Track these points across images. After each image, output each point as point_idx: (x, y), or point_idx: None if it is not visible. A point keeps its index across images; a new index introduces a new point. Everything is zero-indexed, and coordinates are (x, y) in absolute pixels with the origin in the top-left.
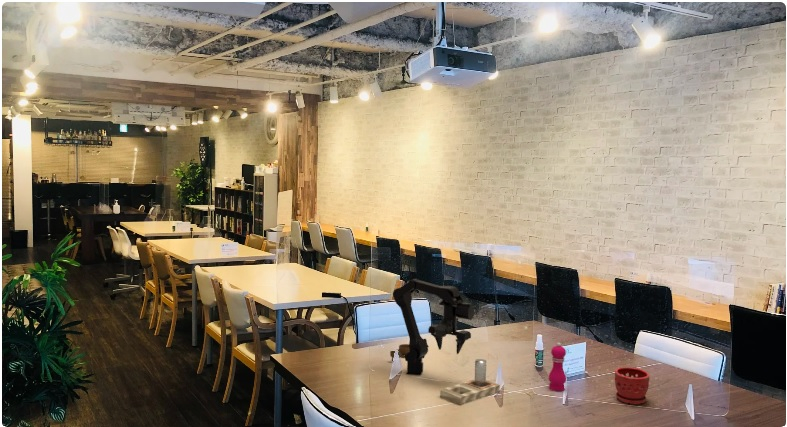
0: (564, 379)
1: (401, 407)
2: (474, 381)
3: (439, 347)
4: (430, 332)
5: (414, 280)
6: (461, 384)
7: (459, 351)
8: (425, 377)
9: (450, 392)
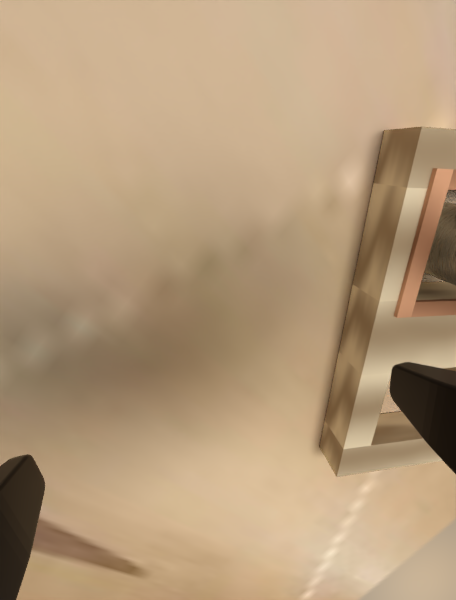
0: None
1: (280, 587)
2: (454, 279)
3: (33, 533)
4: None
5: None
6: (381, 346)
7: (444, 377)
8: (26, 339)
9: (393, 459)
